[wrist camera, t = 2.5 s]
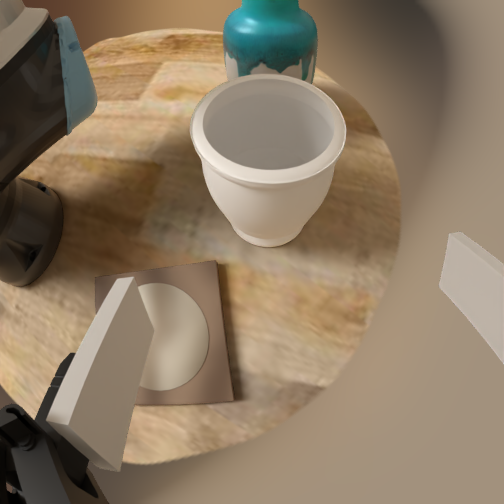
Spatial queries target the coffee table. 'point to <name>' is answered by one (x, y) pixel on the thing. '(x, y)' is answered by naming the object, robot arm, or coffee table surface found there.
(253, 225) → the jar
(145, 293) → the walnut board
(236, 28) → the vase
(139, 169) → the coffee table surface
